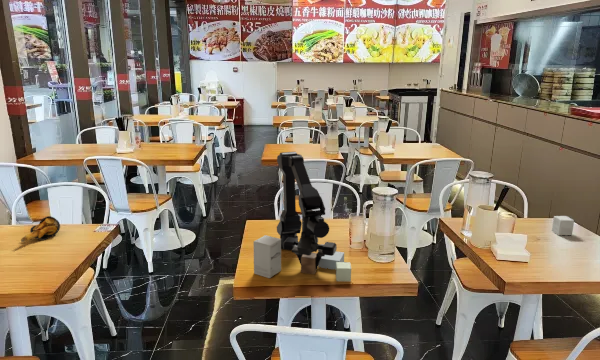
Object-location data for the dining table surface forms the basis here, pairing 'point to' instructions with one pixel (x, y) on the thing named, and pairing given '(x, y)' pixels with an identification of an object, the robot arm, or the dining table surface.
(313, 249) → the robot arm
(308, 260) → the walnut block
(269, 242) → the supplement box
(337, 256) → the slate plinth
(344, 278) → the sage block
